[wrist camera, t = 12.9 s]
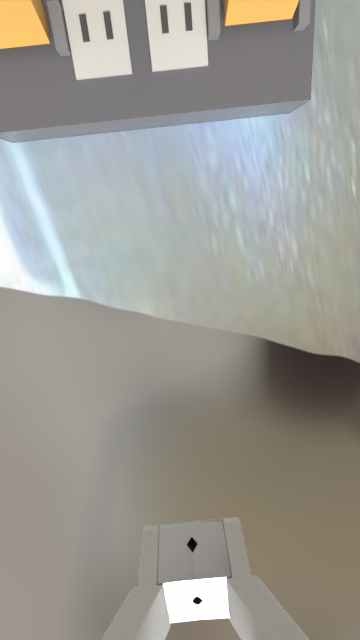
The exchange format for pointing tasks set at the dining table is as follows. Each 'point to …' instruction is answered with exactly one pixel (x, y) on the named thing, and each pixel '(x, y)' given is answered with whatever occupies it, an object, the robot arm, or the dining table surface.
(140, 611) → the robot arm
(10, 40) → the switch
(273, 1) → the switch
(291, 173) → the dining table surface
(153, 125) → the power box
